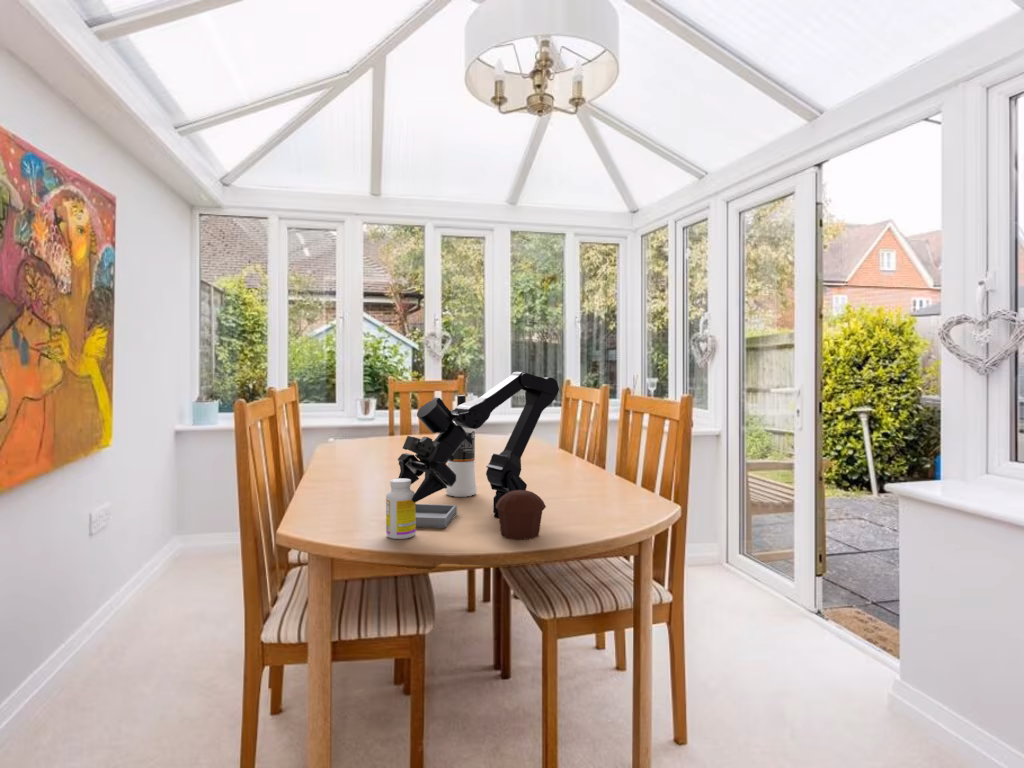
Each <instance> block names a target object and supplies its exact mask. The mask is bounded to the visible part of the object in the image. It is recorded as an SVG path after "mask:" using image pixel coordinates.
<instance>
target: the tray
mask: <svg viewBox="0 0 1024 768" xmlns="http://www.w3.org/2000/svg"><path fill="white" fill-rule="evenodd" d="M415 506H416V528H430V529H431V528H433V529H446V528H447V527H446V526H448V525H449V524H450V523H451V522H452V521H453V519H454V518H455V517H456V516H457V515H458V512H457V510H458V507H457V506H458V505H456V504H435V503H434V504H433V503H432V504H431V503H429V504H428V503H427V504H426V503H415ZM456 514H457V515H456ZM455 515H456V516H455ZM454 516H455V517H454ZM453 517H454V518H453ZM451 520H452V521H451ZM450 521H451V522H450ZM449 522H450V523H449Z"/></svg>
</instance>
